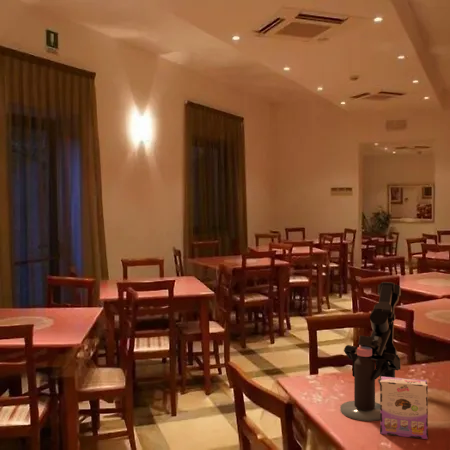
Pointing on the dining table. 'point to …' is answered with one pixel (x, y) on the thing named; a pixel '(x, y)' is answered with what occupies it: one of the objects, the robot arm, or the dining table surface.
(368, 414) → the plate
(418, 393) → the candy box
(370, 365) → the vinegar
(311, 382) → the dining table surface
